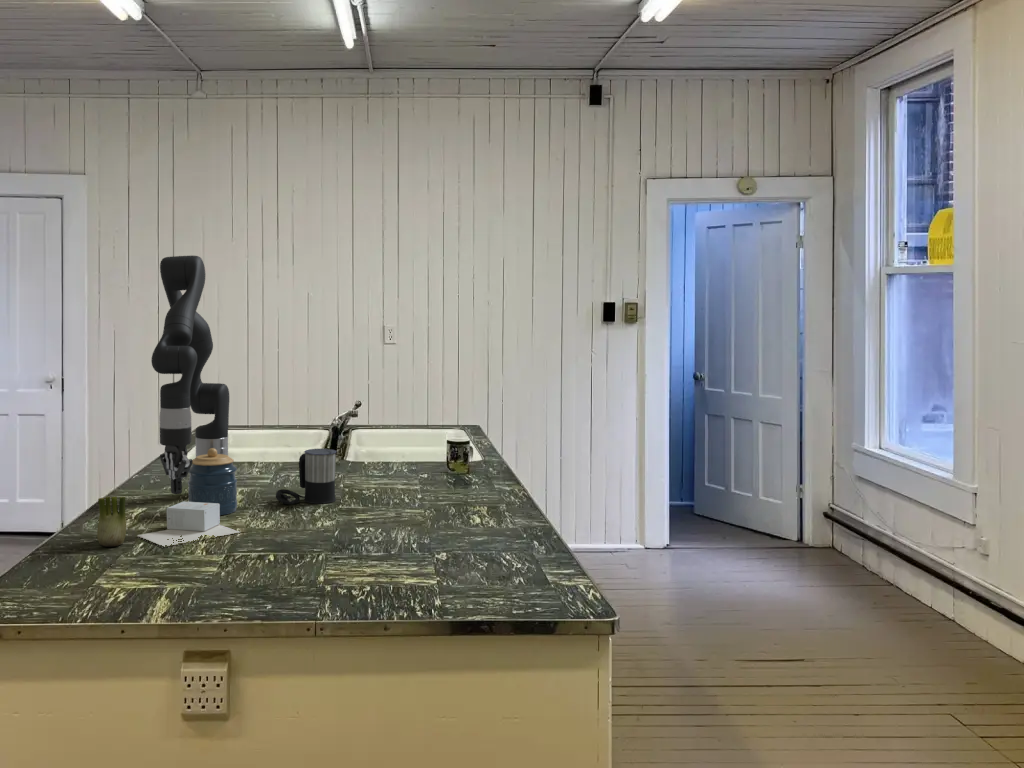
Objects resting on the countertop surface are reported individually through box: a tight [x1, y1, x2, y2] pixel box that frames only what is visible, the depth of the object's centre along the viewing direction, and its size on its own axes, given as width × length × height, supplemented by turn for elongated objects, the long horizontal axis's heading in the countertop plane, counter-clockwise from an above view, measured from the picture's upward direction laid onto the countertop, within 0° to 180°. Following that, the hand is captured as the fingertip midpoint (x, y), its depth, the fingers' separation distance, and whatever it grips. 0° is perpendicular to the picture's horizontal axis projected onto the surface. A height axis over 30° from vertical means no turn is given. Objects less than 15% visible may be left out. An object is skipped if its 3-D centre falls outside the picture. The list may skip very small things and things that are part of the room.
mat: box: [136, 524, 241, 547], centre depth 230 cm, size 20×14×1 cm
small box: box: [166, 500, 221, 531], centre depth 236 cm, size 8×6×10 cm
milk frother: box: [275, 448, 337, 505], centre depth 268 cm, size 14×16×15 cm
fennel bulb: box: [96, 495, 127, 548], centre depth 218 cm, size 6×5×12 cm
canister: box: [187, 448, 238, 516], centre depth 254 cm, size 13×13×18 cm
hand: (176, 493), depth 233 cm, fingers closed
